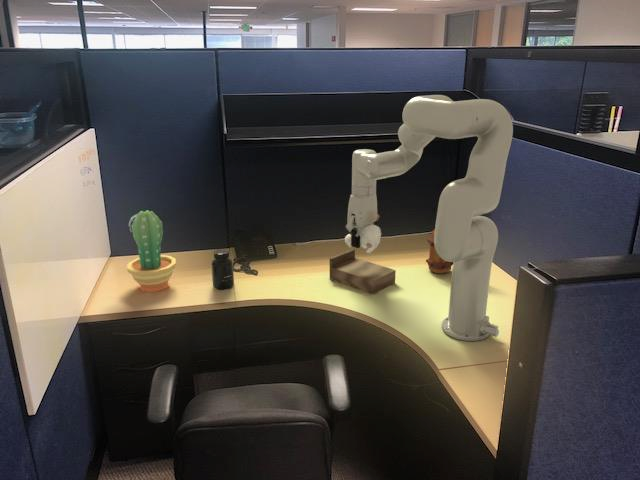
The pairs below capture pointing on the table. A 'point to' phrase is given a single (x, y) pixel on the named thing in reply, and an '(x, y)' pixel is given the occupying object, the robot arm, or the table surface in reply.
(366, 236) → the white animal figurine
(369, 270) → the display ledge
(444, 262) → the mug
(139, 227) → the potted cactus
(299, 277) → the table surface
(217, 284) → the supplement bottle
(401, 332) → the table surface
